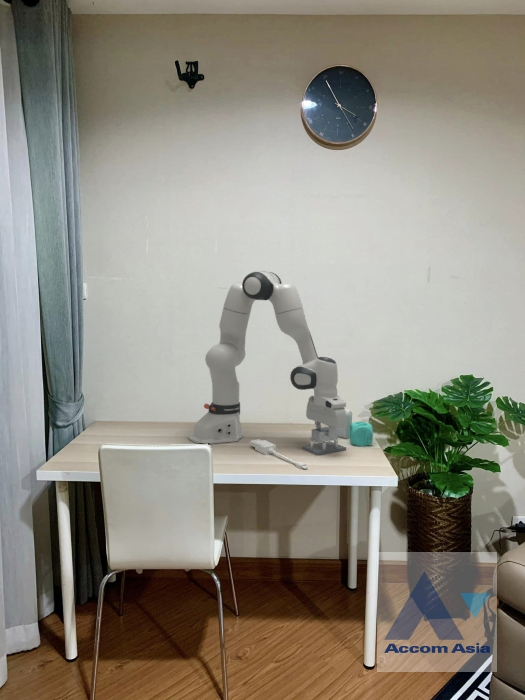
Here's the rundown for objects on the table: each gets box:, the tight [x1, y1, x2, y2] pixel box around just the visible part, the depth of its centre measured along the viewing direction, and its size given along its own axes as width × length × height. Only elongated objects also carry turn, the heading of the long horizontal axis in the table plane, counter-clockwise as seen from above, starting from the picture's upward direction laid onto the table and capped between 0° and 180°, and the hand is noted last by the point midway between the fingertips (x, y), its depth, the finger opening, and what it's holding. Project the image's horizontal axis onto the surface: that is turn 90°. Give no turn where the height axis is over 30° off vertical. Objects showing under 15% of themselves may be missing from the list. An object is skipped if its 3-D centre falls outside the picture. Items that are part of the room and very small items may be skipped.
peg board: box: [301, 437, 347, 456], centre depth 235 cm, size 14×10×4 cm
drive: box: [310, 426, 339, 443], centre depth 235 cm, size 9×5×4 cm, turn 123°
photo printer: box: [336, 407, 353, 440], centre depth 254 cm, size 10×4×12 cm, turn 47°
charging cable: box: [249, 439, 309, 470], centre depth 224 cm, size 5×32×3 cm, turn 34°
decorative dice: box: [349, 421, 374, 447], centre depth 244 cm, size 8×8×8 cm
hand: (324, 434), depth 235 cm, fingers closed on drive, 5 cm apart
